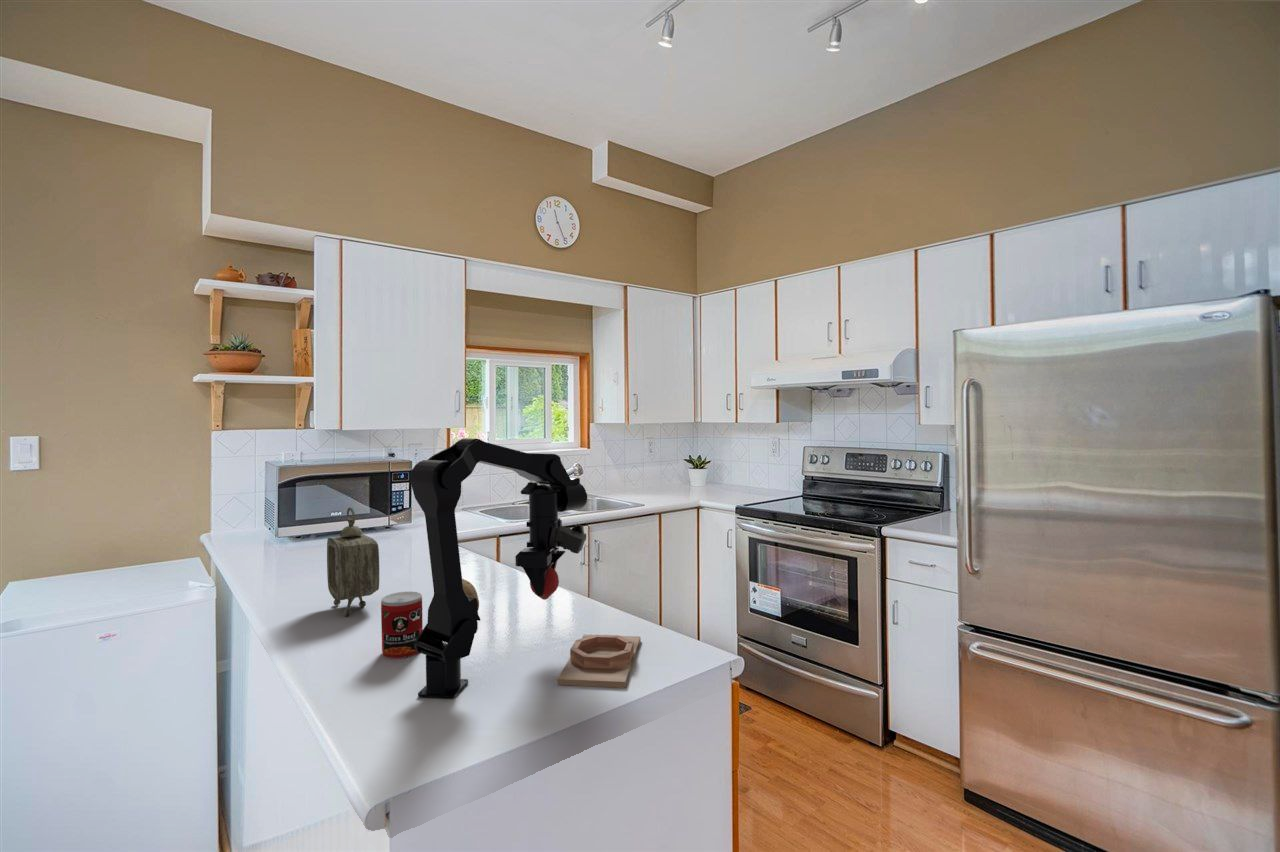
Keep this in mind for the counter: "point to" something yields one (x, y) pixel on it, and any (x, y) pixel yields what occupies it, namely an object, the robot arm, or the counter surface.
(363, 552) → the tabletop clock
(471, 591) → the natural sponge
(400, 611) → the canned food
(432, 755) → the counter surface
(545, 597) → the onion
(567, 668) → the onion holder
